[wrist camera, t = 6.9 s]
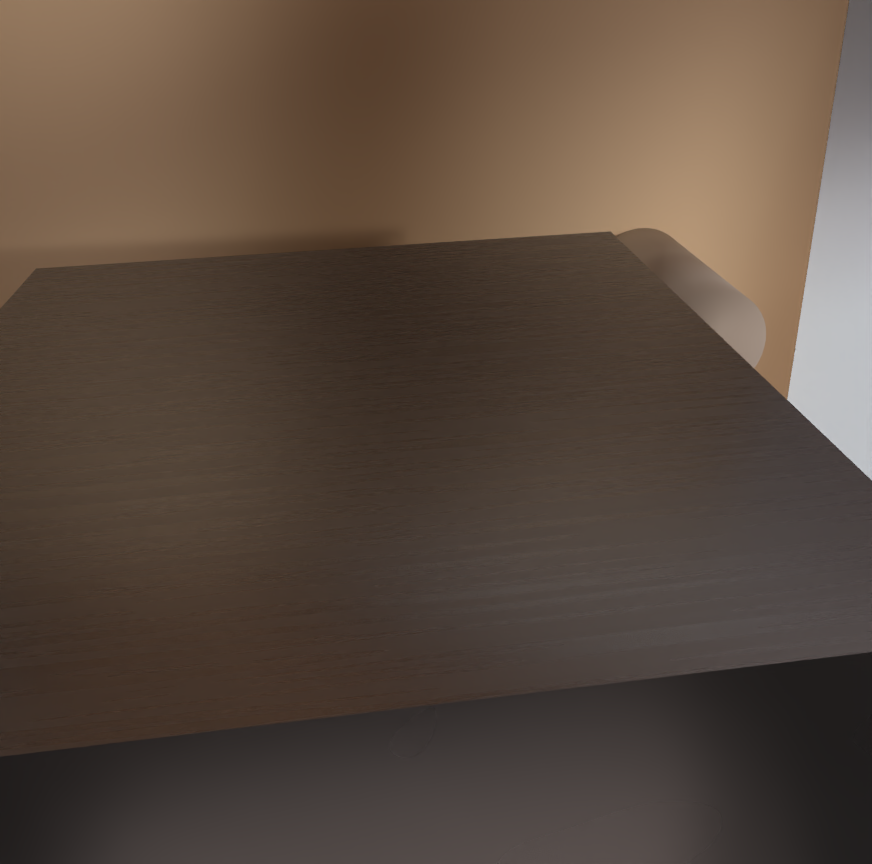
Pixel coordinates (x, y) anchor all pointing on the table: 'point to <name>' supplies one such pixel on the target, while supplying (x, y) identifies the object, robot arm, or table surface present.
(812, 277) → the table surface
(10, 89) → the pin tray
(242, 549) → the dark grey rectangular block
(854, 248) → the table surface
